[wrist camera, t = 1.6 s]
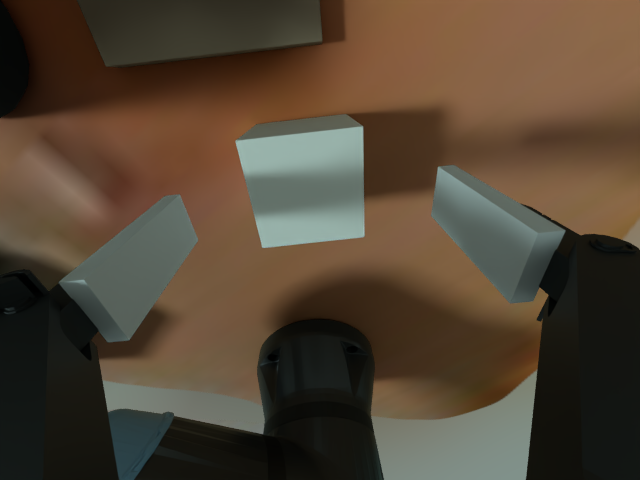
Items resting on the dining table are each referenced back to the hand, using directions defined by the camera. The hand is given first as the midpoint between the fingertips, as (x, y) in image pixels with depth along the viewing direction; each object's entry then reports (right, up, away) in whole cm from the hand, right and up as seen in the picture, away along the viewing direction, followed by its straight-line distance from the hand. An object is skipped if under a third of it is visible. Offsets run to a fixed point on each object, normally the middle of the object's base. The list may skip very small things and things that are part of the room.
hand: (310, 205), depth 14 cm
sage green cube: (-1, +5, +8) cm, 10 cm away
